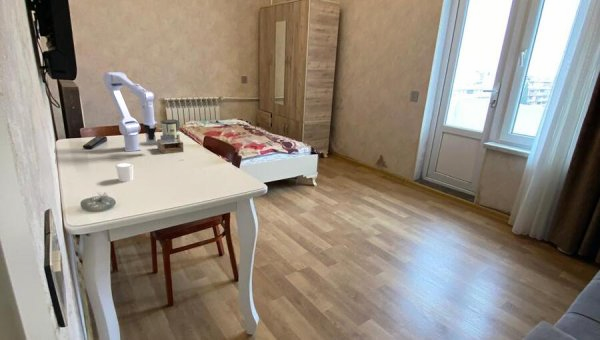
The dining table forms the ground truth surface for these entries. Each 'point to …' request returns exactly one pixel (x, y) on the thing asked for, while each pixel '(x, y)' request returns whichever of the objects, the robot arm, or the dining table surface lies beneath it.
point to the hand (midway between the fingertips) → (150, 138)
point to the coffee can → (170, 128)
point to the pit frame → (170, 147)
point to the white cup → (125, 172)
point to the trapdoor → (168, 139)
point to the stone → (150, 140)
